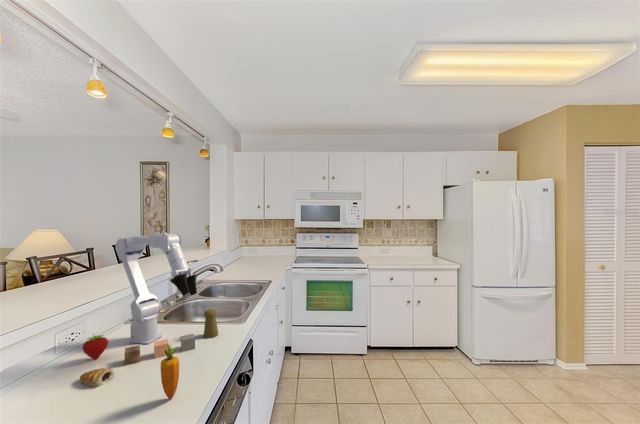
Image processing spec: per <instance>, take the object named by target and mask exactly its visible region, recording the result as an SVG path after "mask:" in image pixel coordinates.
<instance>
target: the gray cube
mask: <svg viewBox="0 0 640 424" xmlns="http://www.w3.org/2000/svg"><path fill="white" fill-rule="evenodd" d="M180 348H181V349H180V350H181V352H182V353H185V352H189V351H192V350H195V349H196V337H195V335H194V333H189V334H185V335H180Z"/></svg>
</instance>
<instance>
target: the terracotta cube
mask: <svg viewBox="0 0 640 424" xmlns="http://www.w3.org/2000/svg"><path fill="white" fill-rule="evenodd" d="M168 345H170V344H169V340H168V339H167V338H166V339H161V340H155V341H153V350H154V353H153V354H154V355H153V356H154V359H160V358H163V357H167V356H166V354H165V351H164V350H165V349H166V348H167V351H168Z"/></svg>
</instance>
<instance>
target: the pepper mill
mask: <svg viewBox="0 0 640 424" xmlns="http://www.w3.org/2000/svg"><path fill="white" fill-rule="evenodd" d="M203 315H204V316H203V317H204V318H205V320H204V331H203V338H205V339H211V338H212V339H213V338H216V337H218V336H219V330H218V324H217V315H218V311H217V309H215V308H208V309H206V310H204V312H203Z"/></svg>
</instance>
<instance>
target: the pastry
mask: <svg viewBox="0 0 640 424" xmlns="http://www.w3.org/2000/svg"><path fill="white" fill-rule="evenodd" d="M114 376H115V372H114V370H113V369H111V368H105V367H99V368H97V369H96V368H95V369H93V370H90V371H89V370H88V371H87V372H84V373H82V374H81V375H80V377H79V381H80V382H81V383H82V384H83V385H84V386H87V387H90V388H99V387H101V386H103V385H104V384H106V383H107V382H108V381H110V380H111V379H113V378H114Z"/></svg>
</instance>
